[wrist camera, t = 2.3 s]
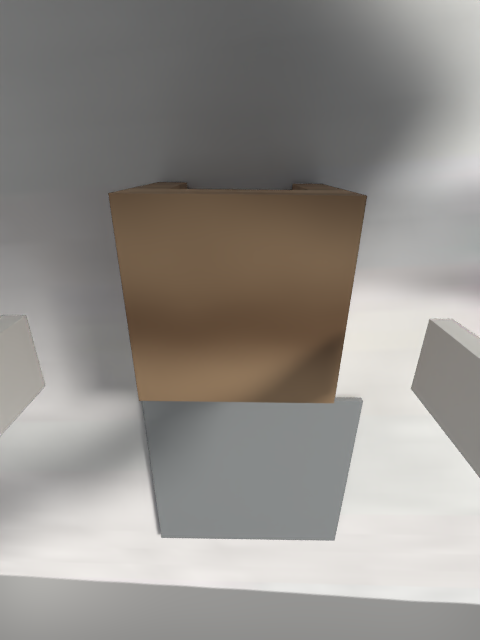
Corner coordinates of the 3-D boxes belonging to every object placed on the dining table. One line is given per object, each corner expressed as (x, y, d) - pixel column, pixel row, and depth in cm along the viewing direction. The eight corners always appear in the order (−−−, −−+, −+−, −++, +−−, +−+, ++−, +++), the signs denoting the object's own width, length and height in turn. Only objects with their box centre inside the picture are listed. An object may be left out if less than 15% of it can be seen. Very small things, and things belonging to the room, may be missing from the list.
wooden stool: (158, 182, 18) (108, 193, 12) (321, 183, 18) (367, 195, 12) (171, 328, 22) (139, 400, 15) (306, 329, 22) (334, 403, 15)
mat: (142, 394, 25) (141, 398, 24) (361, 398, 25) (362, 401, 24) (162, 533, 31) (161, 537, 31) (333, 536, 31) (334, 540, 31)
